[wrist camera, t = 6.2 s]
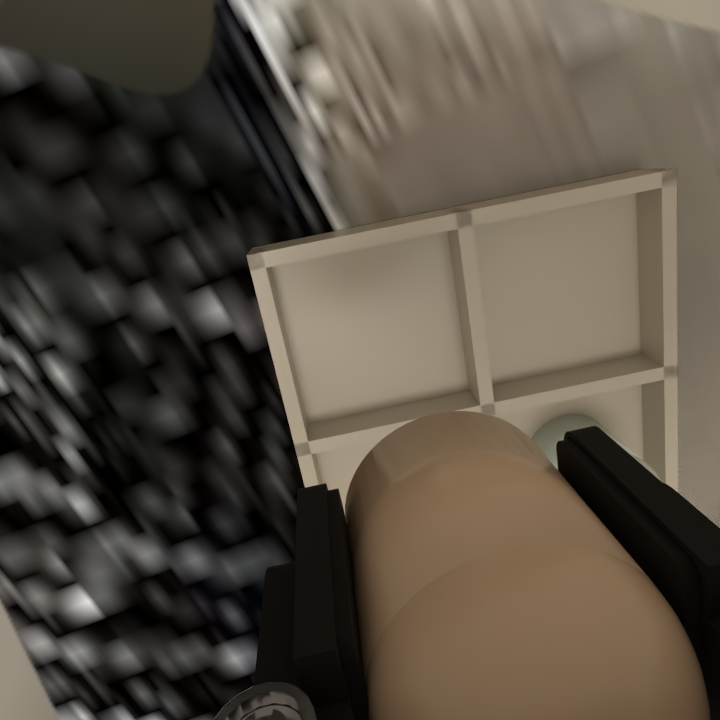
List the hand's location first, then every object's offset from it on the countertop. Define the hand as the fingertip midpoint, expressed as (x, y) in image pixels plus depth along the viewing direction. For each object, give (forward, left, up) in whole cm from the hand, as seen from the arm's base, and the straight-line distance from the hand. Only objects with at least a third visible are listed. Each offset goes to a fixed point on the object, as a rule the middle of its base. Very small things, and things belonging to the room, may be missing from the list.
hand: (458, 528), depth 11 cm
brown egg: (0, 0, -1) cm, 1 cm away
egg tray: (-4, +4, -15) cm, 16 cm away
